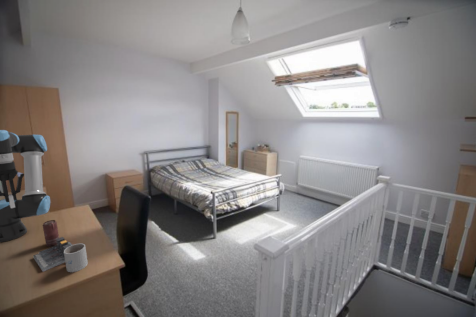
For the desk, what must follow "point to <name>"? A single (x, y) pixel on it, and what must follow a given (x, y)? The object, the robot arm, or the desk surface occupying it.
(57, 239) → the block
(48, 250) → the panel
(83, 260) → the mug
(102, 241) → the desk surface
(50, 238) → the can
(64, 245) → the block
